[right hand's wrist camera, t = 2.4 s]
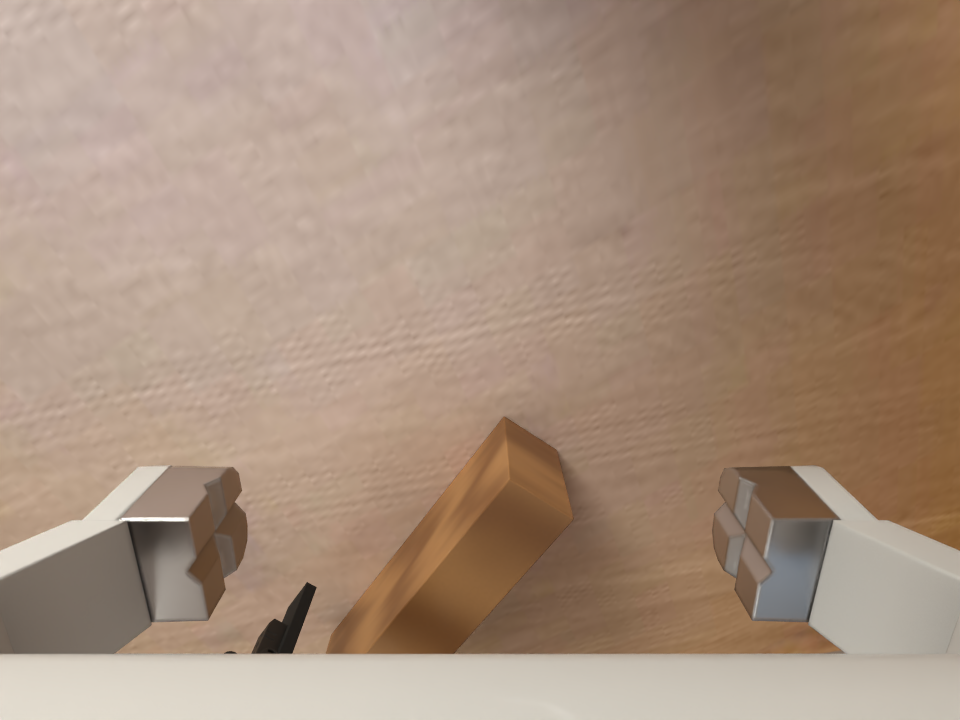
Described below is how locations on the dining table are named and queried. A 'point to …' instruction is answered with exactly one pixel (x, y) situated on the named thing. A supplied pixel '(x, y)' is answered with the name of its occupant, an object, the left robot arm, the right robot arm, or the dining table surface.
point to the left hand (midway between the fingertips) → (379, 637)
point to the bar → (463, 551)
